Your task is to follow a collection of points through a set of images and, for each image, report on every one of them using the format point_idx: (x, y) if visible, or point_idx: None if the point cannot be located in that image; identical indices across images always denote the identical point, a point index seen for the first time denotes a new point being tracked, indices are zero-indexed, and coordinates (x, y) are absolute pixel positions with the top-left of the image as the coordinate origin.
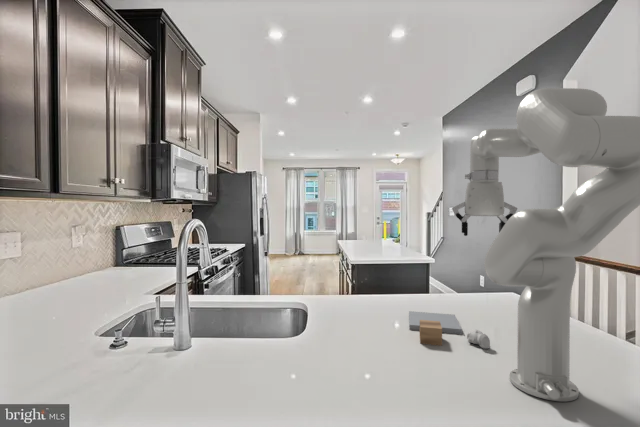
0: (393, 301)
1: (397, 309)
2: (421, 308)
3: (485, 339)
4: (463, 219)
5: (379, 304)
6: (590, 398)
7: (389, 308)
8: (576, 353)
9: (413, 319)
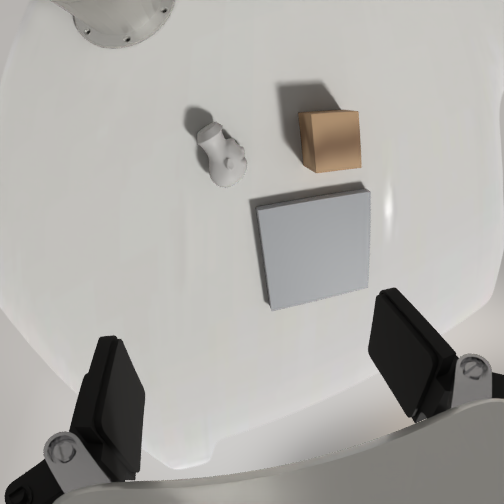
0: None
1: None
2: (335, 338)
3: (207, 128)
4: (478, 373)
5: None
6: None
7: None
8: (44, 200)
9: (361, 233)
